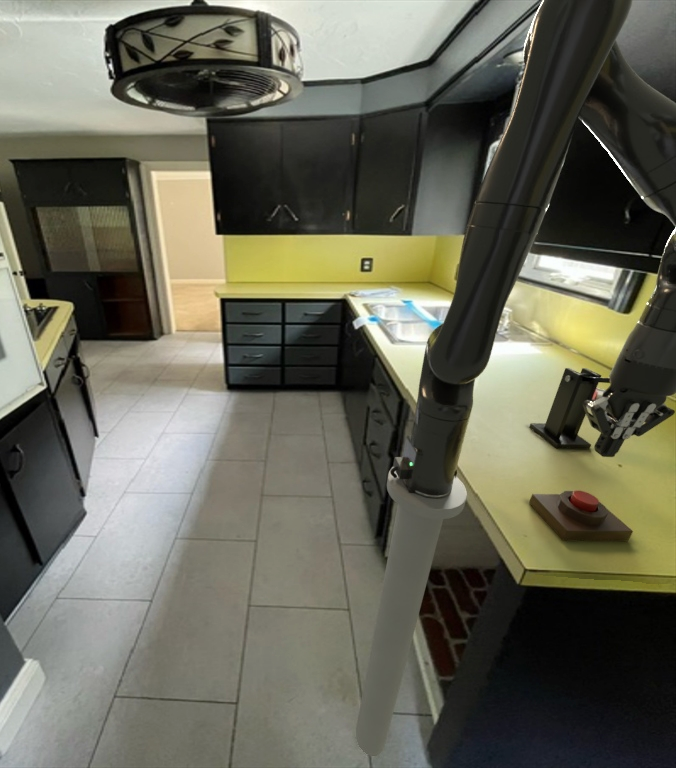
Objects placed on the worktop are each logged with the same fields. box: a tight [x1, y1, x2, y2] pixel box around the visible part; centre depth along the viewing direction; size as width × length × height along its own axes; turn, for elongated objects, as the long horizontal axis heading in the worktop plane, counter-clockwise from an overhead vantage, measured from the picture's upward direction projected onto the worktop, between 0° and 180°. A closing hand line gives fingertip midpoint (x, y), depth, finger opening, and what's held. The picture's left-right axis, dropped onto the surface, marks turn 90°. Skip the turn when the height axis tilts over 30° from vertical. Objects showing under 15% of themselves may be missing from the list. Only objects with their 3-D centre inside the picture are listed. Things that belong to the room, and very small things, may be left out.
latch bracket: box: [529, 367, 602, 450], centre depth 87 cm, size 10×8×18 cm
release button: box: [570, 490, 600, 512], centre depth 63 cm, size 4×4×2 cm
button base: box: [528, 490, 634, 542], centre depth 64 cm, size 11×9×4 cm
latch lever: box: [579, 372, 611, 385], centre depth 79 cm, size 13×4×4 cm, turn 0°
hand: (603, 453), depth 60 cm, fingers closed
